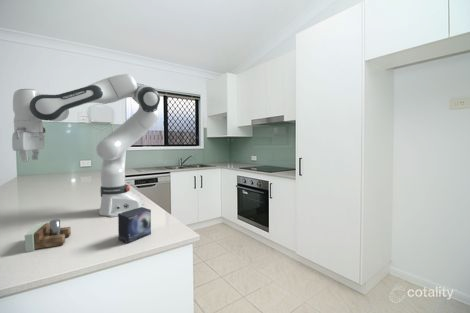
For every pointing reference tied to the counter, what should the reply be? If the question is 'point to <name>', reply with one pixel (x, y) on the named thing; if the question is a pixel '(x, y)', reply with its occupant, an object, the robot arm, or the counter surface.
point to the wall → (31, 237)
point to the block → (50, 237)
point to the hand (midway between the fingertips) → (30, 160)
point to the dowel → (55, 227)
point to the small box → (134, 224)
